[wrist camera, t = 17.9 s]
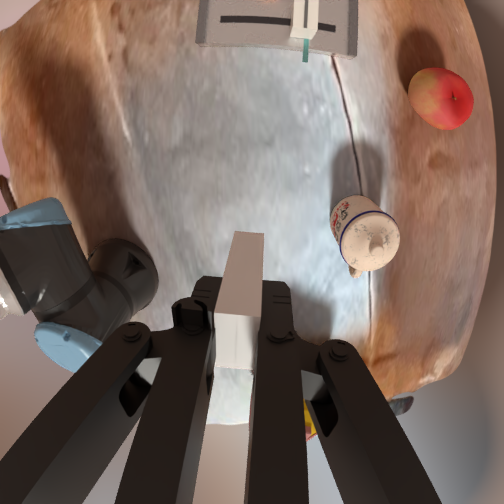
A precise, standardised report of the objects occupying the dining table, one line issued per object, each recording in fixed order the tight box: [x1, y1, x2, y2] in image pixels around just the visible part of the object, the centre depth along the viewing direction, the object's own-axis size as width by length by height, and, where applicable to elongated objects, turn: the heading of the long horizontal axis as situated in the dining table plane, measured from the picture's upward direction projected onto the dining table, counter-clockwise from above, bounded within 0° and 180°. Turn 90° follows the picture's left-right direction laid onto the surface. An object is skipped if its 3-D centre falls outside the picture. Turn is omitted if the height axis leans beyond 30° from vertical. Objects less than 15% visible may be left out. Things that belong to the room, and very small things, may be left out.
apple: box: [408, 68, 474, 130], centre depth 30 cm, size 10×10×10 cm
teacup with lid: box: [330, 195, 400, 278], centre depth 40 cm, size 12×9×12 cm
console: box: [195, 0, 358, 63], centre depth 28 cm, size 22×20×3 cm
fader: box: [290, 0, 319, 40], centre depth 27 cm, size 3×5×5 cm, turn 176°
